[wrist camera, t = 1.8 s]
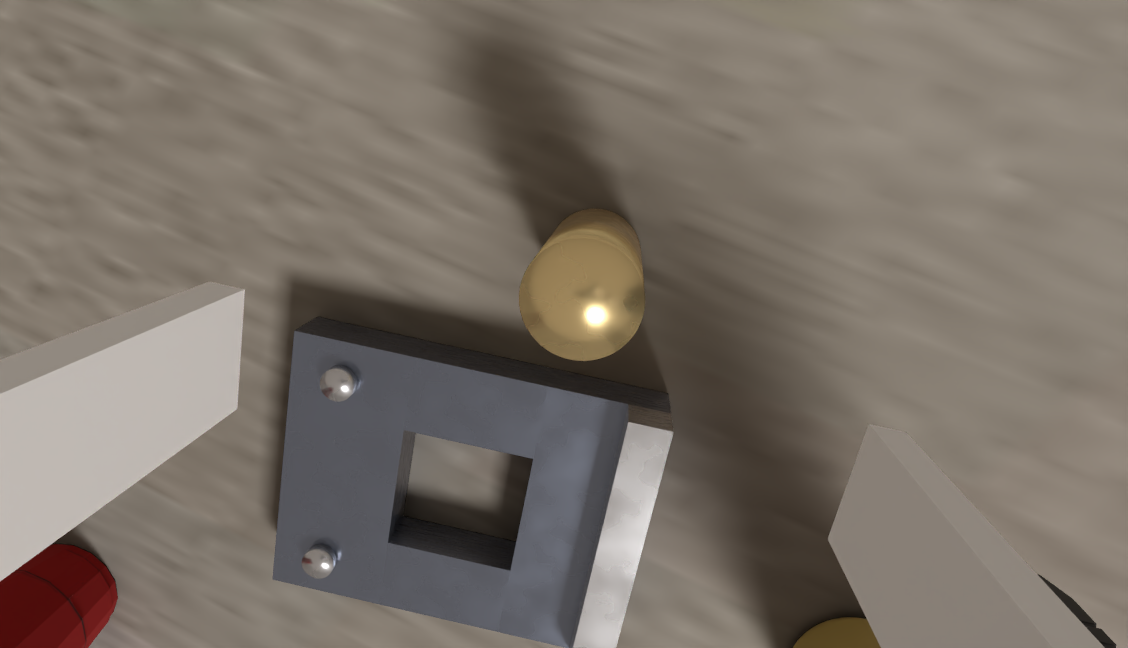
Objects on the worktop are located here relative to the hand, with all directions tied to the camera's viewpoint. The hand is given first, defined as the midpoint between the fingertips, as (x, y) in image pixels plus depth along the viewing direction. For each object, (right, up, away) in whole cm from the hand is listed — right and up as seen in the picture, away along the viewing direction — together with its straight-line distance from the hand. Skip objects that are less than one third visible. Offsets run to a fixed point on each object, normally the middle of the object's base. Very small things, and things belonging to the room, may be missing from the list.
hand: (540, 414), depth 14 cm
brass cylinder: (+2, +5, +18) cm, 19 cm away
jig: (-4, -6, +22) cm, 23 cm away
